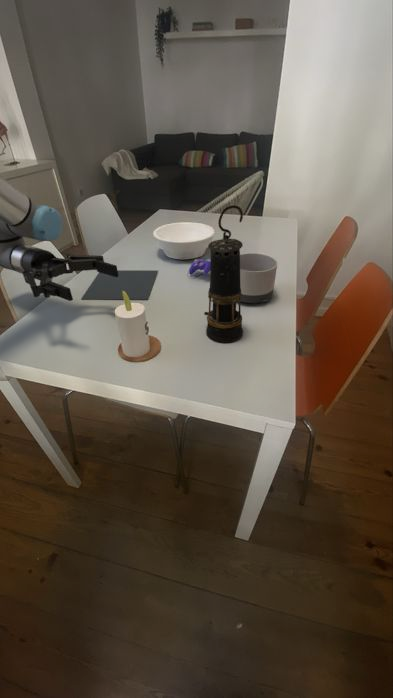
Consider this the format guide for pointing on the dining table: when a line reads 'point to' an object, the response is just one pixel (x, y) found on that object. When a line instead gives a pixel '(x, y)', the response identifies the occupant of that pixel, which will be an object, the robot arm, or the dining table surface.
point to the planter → (257, 277)
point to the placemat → (122, 285)
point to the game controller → (200, 266)
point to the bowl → (184, 239)
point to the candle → (132, 328)
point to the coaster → (154, 350)
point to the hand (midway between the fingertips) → (94, 282)
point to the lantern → (225, 288)
